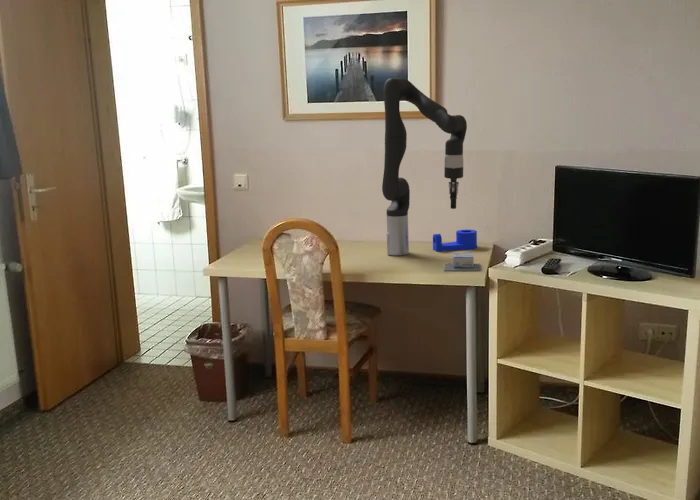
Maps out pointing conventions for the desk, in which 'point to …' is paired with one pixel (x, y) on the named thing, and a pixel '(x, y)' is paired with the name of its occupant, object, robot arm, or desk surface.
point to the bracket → (463, 241)
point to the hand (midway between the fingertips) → (453, 208)
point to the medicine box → (463, 260)
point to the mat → (451, 268)
